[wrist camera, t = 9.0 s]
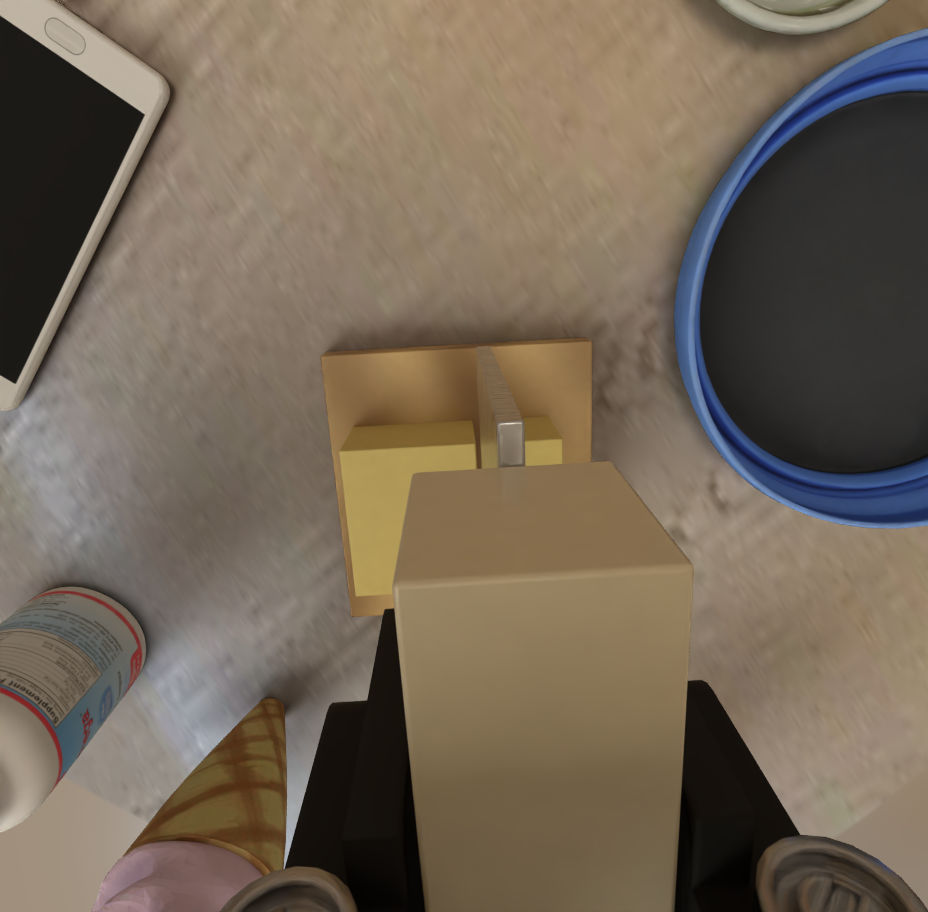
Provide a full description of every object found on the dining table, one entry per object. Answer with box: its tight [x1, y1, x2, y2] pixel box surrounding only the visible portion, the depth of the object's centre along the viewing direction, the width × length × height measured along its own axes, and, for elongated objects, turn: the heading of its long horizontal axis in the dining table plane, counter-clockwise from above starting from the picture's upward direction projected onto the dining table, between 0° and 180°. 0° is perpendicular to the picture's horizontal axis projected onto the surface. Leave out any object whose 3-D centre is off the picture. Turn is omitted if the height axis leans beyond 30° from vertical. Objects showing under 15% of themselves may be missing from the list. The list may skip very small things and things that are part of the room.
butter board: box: [321, 338, 592, 617], centre depth 28 cm, size 11×12×1 cm
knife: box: [392, 346, 694, 912], centre depth 10 cm, size 2×9×8 cm, turn 3°
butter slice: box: [522, 416, 563, 466], centre depth 26 cm, size 2×6×4 cm, turn 3°
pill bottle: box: [0, 587, 146, 832], centre depth 25 cm, size 6×6×11 cm
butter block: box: [339, 420, 477, 596], centre depth 26 cm, size 5×6×4 cm
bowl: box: [674, 28, 928, 528], centre depth 25 cm, size 18×18×4 cm
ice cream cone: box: [91, 698, 287, 912], centre depth 25 cm, size 7×6×15 cm
